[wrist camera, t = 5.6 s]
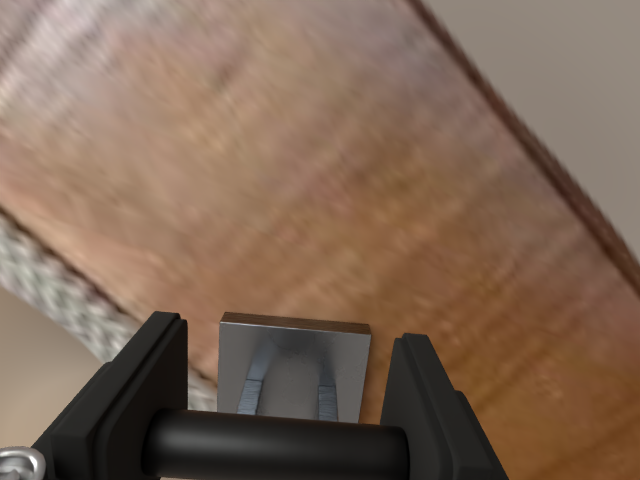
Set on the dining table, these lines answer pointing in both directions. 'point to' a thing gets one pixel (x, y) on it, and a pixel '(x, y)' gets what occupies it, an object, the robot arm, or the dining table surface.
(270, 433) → the press lever
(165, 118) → the dining table surface
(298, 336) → the press bracket
